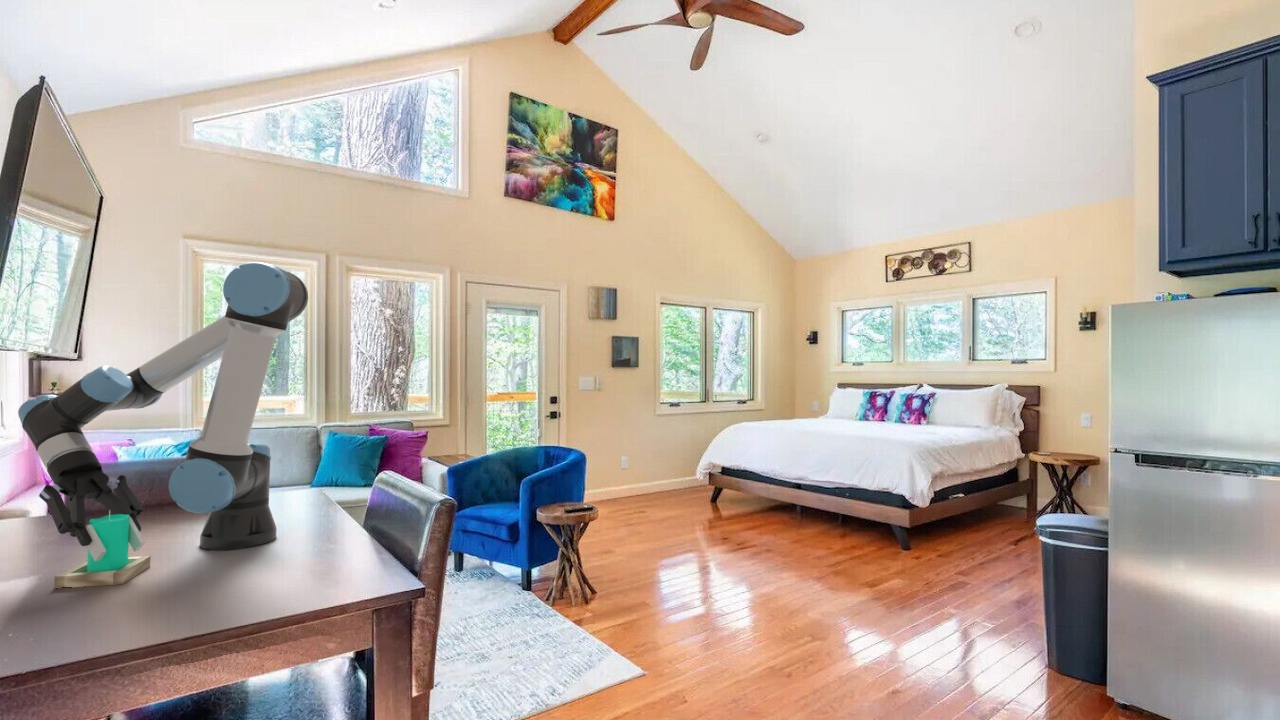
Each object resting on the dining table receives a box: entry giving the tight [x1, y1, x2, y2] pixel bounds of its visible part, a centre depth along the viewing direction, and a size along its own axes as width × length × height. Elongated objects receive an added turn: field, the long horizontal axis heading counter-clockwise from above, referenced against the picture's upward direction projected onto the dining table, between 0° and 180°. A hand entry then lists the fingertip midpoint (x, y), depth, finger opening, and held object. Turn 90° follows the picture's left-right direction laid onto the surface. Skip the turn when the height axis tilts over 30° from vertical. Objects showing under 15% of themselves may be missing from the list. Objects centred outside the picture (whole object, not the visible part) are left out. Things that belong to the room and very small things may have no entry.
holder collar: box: [53, 555, 152, 589], centre depth 119 cm, size 10×10×2 cm
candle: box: [86, 510, 130, 572], centre depth 118 cm, size 6×6×12 cm
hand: (120, 551), depth 117 cm, fingers closed on candle, 6 cm apart
